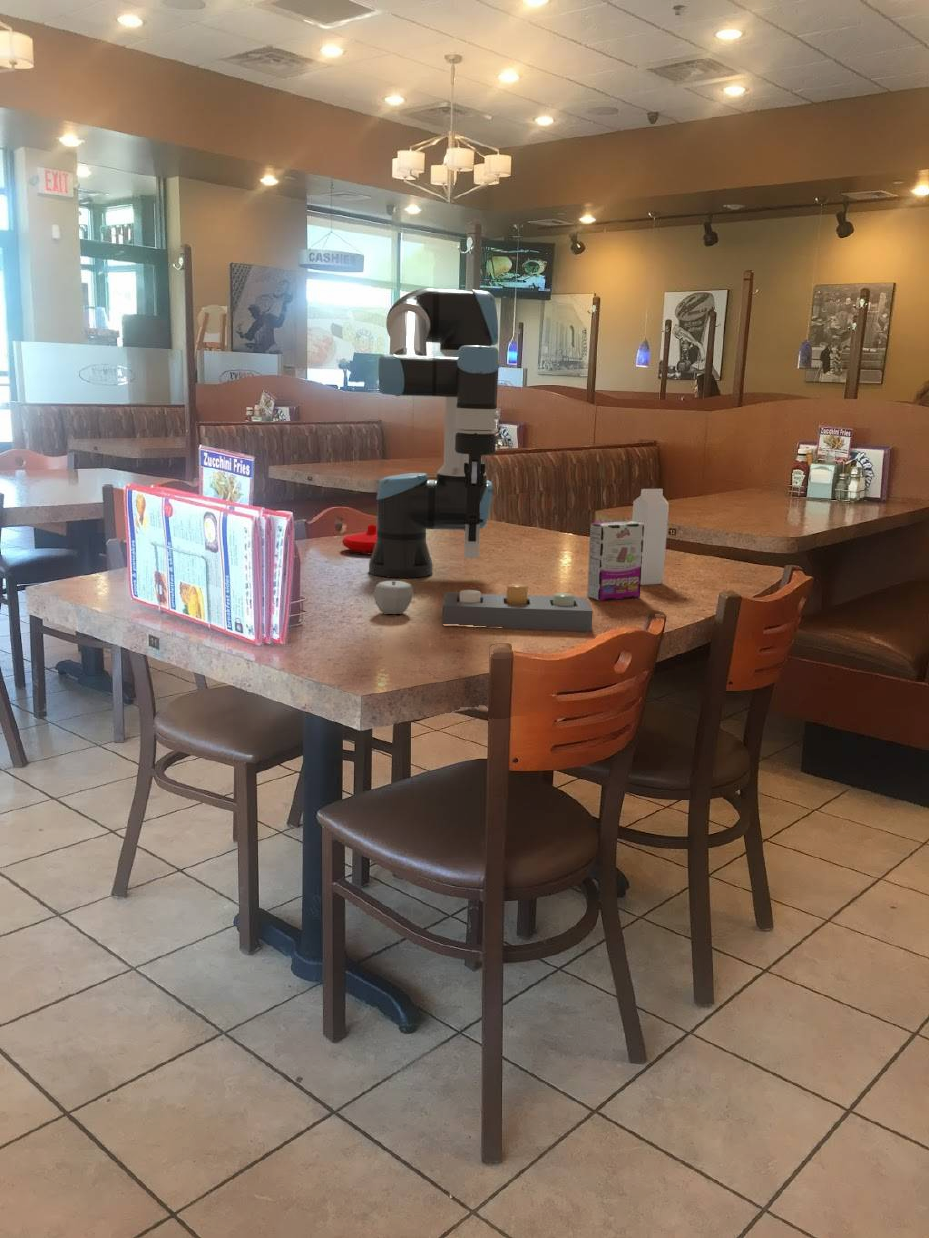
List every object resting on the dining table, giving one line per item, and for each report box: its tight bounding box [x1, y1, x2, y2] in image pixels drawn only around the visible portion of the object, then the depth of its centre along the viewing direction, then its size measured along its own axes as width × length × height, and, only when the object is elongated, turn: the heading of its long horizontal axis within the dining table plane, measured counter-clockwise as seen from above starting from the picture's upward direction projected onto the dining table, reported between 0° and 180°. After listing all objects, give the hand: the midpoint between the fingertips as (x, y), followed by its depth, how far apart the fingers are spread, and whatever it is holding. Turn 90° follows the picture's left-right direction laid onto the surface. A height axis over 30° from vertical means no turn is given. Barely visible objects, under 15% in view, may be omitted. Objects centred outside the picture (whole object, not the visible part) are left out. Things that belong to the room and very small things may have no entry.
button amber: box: [506, 583, 529, 605], centre depth 192 cm, size 4×4×4 cm
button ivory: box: [459, 589, 482, 603], centre depth 193 cm, size 4×4×4 cm
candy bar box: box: [586, 520, 644, 602], centre depth 216 cm, size 11×5×16 cm, turn 117°
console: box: [441, 592, 594, 633], centre depth 193 cm, size 28×12×4 cm, turn 89°
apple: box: [373, 580, 414, 615], centre depth 196 cm, size 8×8×7 cm
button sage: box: [552, 592, 575, 606], centre depth 192 cm, size 4×4×4 cm
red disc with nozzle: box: [341, 524, 377, 554], centre depth 265 cm, size 16×16×7 cm
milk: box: [631, 488, 670, 586], centre depth 234 cm, size 6×6×22 cm
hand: (471, 557), depth 191 cm, fingers closed
